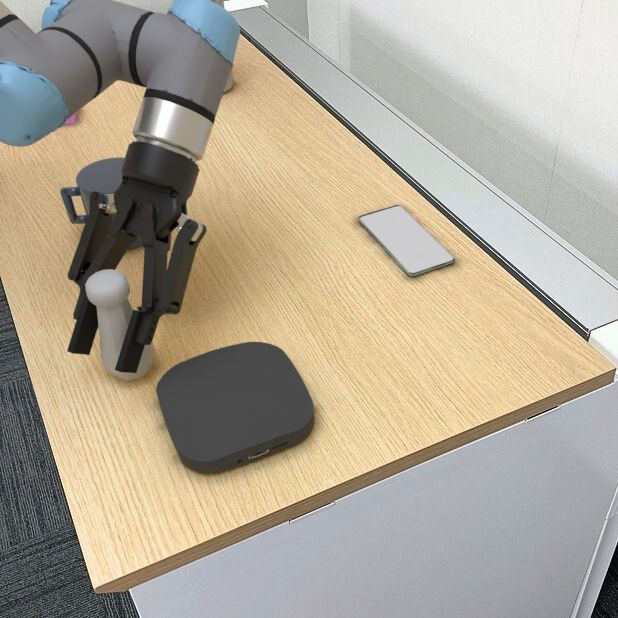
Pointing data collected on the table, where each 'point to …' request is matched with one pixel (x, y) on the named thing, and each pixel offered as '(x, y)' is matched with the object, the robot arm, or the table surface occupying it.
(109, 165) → the mug
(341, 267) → the table surface
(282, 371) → the media streaming box
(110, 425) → the table surface
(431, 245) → the smartphone
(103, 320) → the salt shaker
